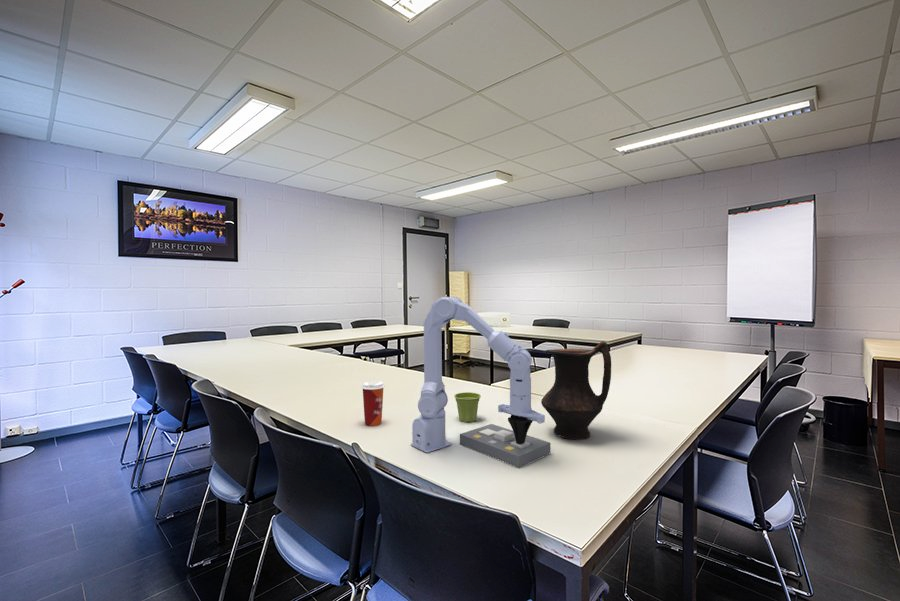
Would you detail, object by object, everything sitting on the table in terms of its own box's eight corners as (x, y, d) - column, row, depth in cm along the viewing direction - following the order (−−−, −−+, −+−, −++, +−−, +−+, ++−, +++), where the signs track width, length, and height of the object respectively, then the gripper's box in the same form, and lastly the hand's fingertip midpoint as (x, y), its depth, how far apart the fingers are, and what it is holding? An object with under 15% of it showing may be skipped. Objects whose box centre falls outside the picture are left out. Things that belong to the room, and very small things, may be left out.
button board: (518, 468, 99) (518, 455, 99) (459, 444, 116) (459, 433, 116) (550, 453, 109) (550, 442, 109) (491, 433, 125) (491, 423, 125)
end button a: (488, 445, 114) (488, 435, 114) (478, 441, 117) (478, 431, 117) (497, 442, 116) (497, 432, 116) (487, 438, 119) (487, 428, 119)
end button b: (521, 458, 105) (521, 446, 105) (510, 453, 108) (510, 442, 108) (530, 454, 108) (530, 443, 108) (519, 449, 111) (519, 439, 110)
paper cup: (382, 427, 131) (382, 385, 131) (359, 427, 131) (359, 385, 131) (386, 419, 139) (386, 380, 139) (364, 419, 139) (364, 380, 139)
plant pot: (471, 425, 132) (471, 400, 132) (449, 420, 138) (449, 396, 138) (485, 418, 140) (485, 394, 140) (464, 414, 145) (464, 391, 145)
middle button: (504, 447, 109) (504, 436, 109) (493, 443, 112) (493, 432, 112) (513, 443, 112) (513, 433, 112) (502, 439, 115) (502, 429, 115)
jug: (533, 439, 120) (533, 341, 119) (548, 422, 136) (548, 336, 136) (607, 451, 110) (607, 345, 110) (614, 431, 126) (614, 338, 126)
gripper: (551, 396, 105) (551, 446, 105) (509, 387, 116) (509, 433, 116) (535, 401, 100) (535, 453, 100) (493, 391, 111) (493, 438, 111)
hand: (520, 443), depth 108 cm, fingers closed, pressing on end button b
